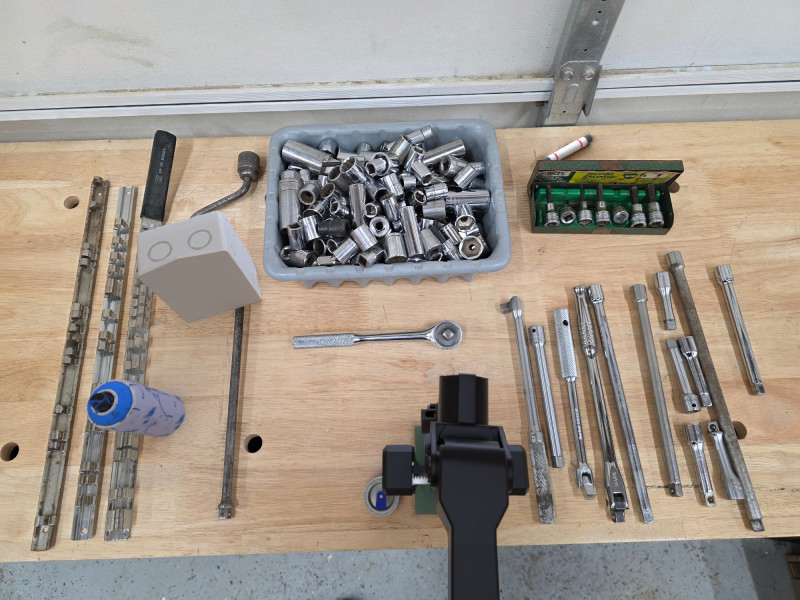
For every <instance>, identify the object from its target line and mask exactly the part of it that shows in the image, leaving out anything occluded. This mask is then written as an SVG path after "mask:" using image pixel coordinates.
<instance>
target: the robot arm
mask: <svg viewBox="0 0 800 600" xmlns="http://www.w3.org/2000/svg"><path fill="white" fill-rule="evenodd" d="M437 399H438V400H437V402H435V403H434V402H433V403H429V404H427V406H426V408H421V409H420V426H421V433H422V434H425V440H424V466H419V463H418V461H417V459H416V456H415V445H413V444H386V445H385V446H384V447H383V448H382V453H381V454H382V455H381V476H382V491H383V492H384V494H385V495H386V496H401V497H407V496H408V497H412V496H413V495H416V488H417V484H429V487H430V488H436V512H437V514H436V515H437V516H438V518H439V520H440V521H441V524H442V525H443V527H444V529H445V532H446V533H447V600H501V595H500V594H501V593H500V575H499V574H500V573H499V555H498V554H499V553H498V533H497V532H498V528H499V526H500V525H501V522H502V520H503V518H504V516H505V515H506V512H507V510H508V509H509V505H510V497H514V496H515V497H525V496H526V495H527V494H528V493H529V491H530V477H529V476H530V475H529V466H528V454H527V451H526V448H525V447H524V446H523V445H522V444H509V443H508V439H507V437H506V433H505V430H504V427H503V425H495V424H494V425H493V424H489V420H490V419H489V418H490V417H489V378H488V377H485V376H479V375H477V373H464V372H459V373H458V374H446V375H439V377H438V398H437ZM419 474H424V475H425V476H426V477H427V478H426V477H425V476H424V478H423V477H422V476H421V478H420V477H419Z"/></svg>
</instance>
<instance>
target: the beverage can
mask: <svg viewBox="0 0 800 600" xmlns="http://www.w3.org/2000/svg"><path fill="white" fill-rule="evenodd" d="M401 497H402V496H386V495H385V494H384V492H383V491H382V475H381V476H377V477H375V478H373V479H372V480H371V481H369V482H368V483H367V485H366V486H365V488H364V491H363V498H362V499H363V504H364V506H365V508H366V509H367V511H368V512H369V513H370V514H372V515H374V516H377V517H387V516H388V515H390V514H392V513H393V512H394V511H395V510H396V509H397V507H398V505H399V503H400V500H401Z"/></svg>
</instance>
